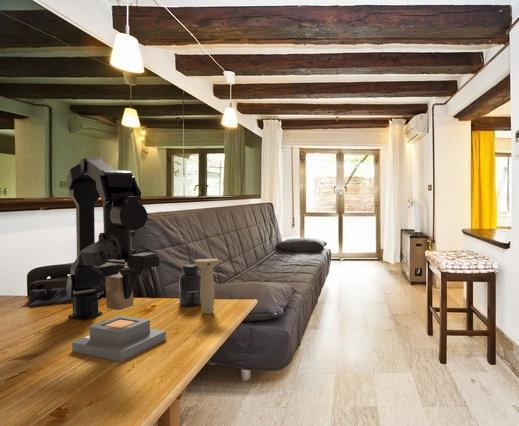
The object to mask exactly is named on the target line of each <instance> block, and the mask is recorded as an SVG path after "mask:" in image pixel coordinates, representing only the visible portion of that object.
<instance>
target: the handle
mask: <svg viewBox="0 0 519 426" xmlns="http://www.w3.org/2000/svg"><path fill="white" fill-rule="evenodd" d="M194 264H195V265H196V266H198V268H200V275H201V286H200V297H201V298H200V299H201V304H200V305H201V313H202V314H204V315H210V314H214V312H215V311H214V310H215V308H214V306H215V296H216V295H215V283H214V282H215V281H214V268H215V267H216V266H217V265H219V259H217V258H200V259H198V258H197V259H195V260H194Z"/></svg>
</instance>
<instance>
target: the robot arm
mask: <svg viewBox="0 0 519 426" xmlns="http://www.w3.org/2000/svg"><path fill="white" fill-rule="evenodd" d="M139 187H140V186H139V185H138V182H137V181H136V177H135V176H134V175H133V173H132V171H131V170H124V169H115V168H113V167H112V166H111V165H109V164H108V163H107V162H104V160H103V158H100V157H84V158H81V159H80V160H79V163H77V164H76V165H75V166H74V167H72V168H70V169H69V170H68V174H67V178H66V189H67V190H68V195H69V197H70V198H71V200H72V201H73V203H74V204H75V215H76V217H75V219H76V222H75V223H76V224H75V225H76V228H75V229H76V258H75V260H74V262H73V263H72V264H71V266H70V274H69V275H68V276H67V277H68V278H67V282H66V286H65V288H66V292H67V295H68V296H69V297H70V298H72V301H73V302H72V313H71V314H68V316H67V318H71V319H77V320H83V321H85V320H88V319H90V318H93V317H97V316H100V315H102V314H103V311H99V298H97V293H102V292H103V291H104V285H105V287H106V276H110V275H114V274H118V273H120V274H121V275H122V277H123V291H124V298H125V299H129V298H130V296H131V293H132V291H133V292H134V288H135V286H136V284H137V282H138V280H139V278H140V276H141V274H142V272H143V270H147V269H151V268H156V267H159V266H160V256H159V255H158V254H157V253H156V252H155V253H154V252H140V253H137V250H136V249H134V248H133V249H132V245H133V244H132V237H135V236H136V231H137V230H140V229H142V228H143V227H144V226H145V224H146V223H147V220H148V216H149V215H148V212H147V210H146V209H147V208H146V207H145V206H144V205H143V204H142V203H140V201H142V192H141V188H139ZM99 199H101V202H102V218H103V219H102V220H103V232H99V234H98V239H97V241H96V239H95V238H96V237H95V236H96V235H95V233H96V232H95V223H96V222H95V205H96V203H97V202H98V201H99ZM120 264H121V265H122V264H123V265H124V268H120ZM73 290H74V291H73Z"/></svg>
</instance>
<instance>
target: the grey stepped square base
mask: <svg viewBox="0 0 519 426" xmlns="http://www.w3.org/2000/svg"><path fill="white" fill-rule="evenodd" d="M117 320H127V321H133V322H135V323H134V324H131V325H129V326H126V327H124V328H122V329H117V328H112V327H106V326H105V325H107V324H109V323H112V322H115V321H117ZM150 321H151V320H150V319H145V318H141V317H132V316H127V315H120V314H119V315H118V316H115V317H112V318H110V319H106V320H103V321H101V322H98V323H96V324H92V325H90V326H89V327H88V330H89V335H87V336H84V337H82V338H80V339H77V340H75V341H72V342H71V351H72V352H74V353H78V354H83V355H86V356H91V357H96V358H100V359H105V360H110V361H115V362H119V363H123V362H124V361H126V360H128V359H131V358H133V357H135V356H136V355H138V354H141V353H143V352H145V351H146V350H149V349H150V348H153V347H154V346H156V345H159V344H160V343H162V342H164V341H166V340H167V331H166V330H161V329H155V328H151V322H150Z"/></svg>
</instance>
